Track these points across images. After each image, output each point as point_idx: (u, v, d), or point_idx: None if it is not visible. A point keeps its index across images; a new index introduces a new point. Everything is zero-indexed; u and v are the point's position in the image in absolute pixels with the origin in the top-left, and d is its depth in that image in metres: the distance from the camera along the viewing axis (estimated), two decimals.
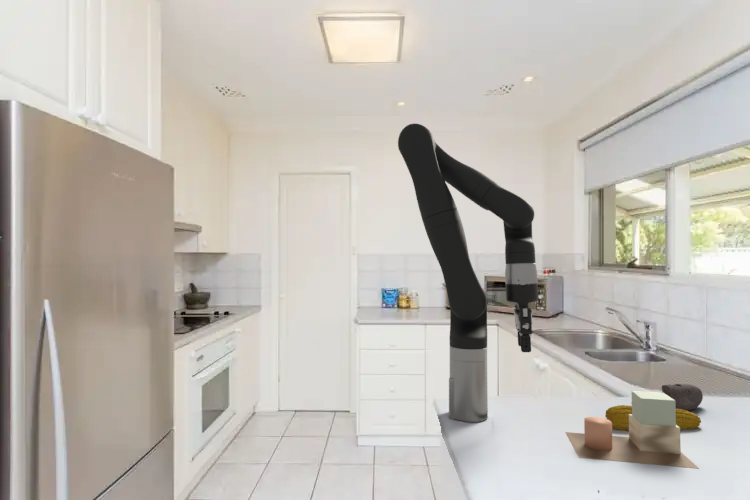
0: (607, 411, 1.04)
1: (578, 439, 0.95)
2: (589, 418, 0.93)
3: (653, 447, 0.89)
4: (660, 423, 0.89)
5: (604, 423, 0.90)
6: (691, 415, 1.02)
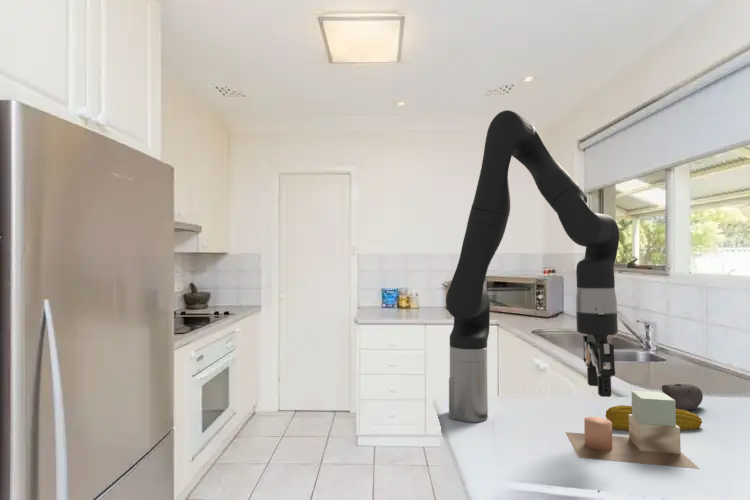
0: (607, 411, 1.04)
1: (578, 439, 0.95)
2: (589, 418, 0.93)
3: (653, 447, 0.89)
4: (660, 423, 0.89)
5: (604, 423, 0.90)
6: (692, 416, 1.02)
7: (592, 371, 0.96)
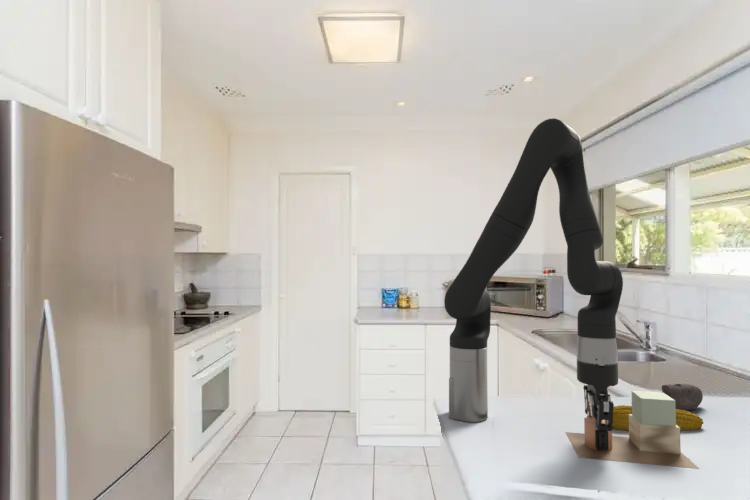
0: None
1: (578, 439, 0.95)
2: (589, 418, 0.93)
3: (653, 447, 0.89)
4: (660, 423, 0.89)
5: (604, 423, 0.90)
6: (693, 416, 1.02)
7: None
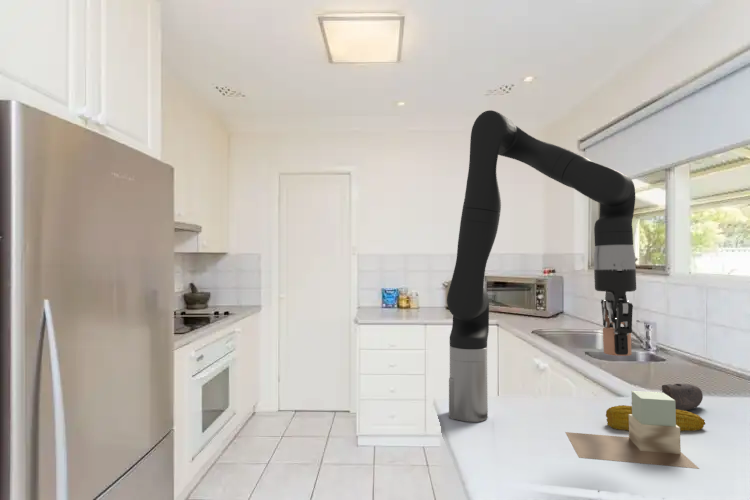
0: (607, 411, 1.04)
1: (578, 439, 0.95)
2: (607, 327, 0.94)
3: (653, 447, 0.89)
4: (660, 423, 0.89)
5: None
6: (694, 417, 1.01)
7: None
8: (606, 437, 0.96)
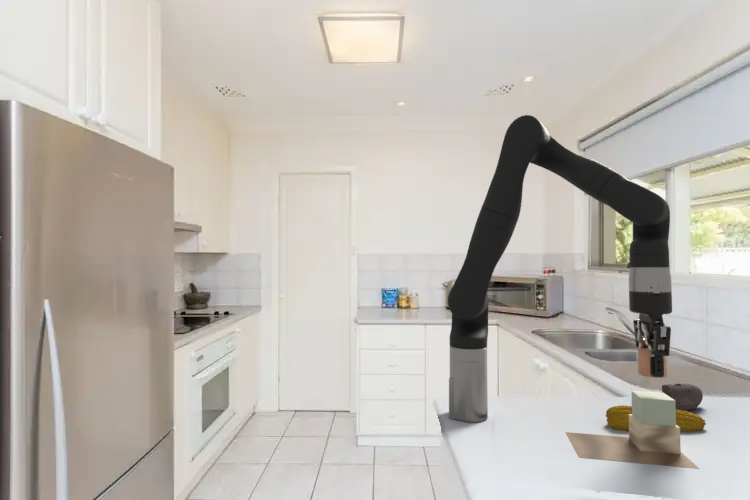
0: (607, 411, 1.04)
1: (578, 439, 0.95)
2: (642, 348, 0.94)
3: (653, 447, 0.89)
4: (660, 423, 0.89)
5: None
6: (695, 417, 1.01)
7: None
8: (606, 437, 0.96)
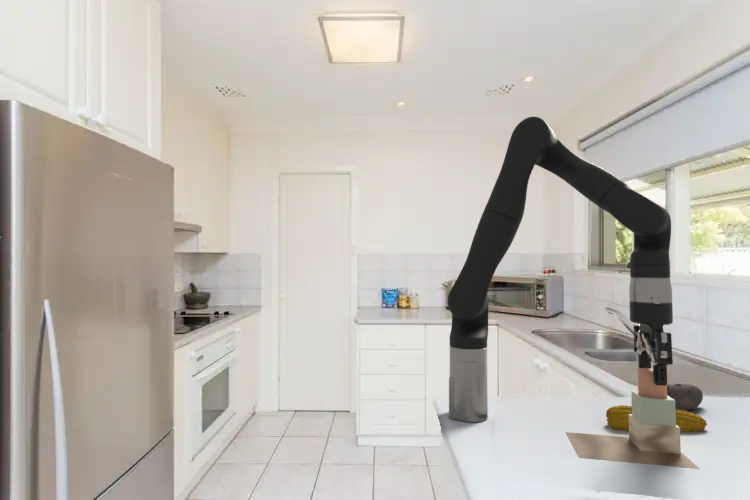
0: (607, 411, 1.04)
1: (578, 439, 0.95)
2: (642, 368, 0.94)
3: (653, 447, 0.89)
4: (660, 423, 0.89)
5: None
6: (696, 417, 1.01)
7: (643, 361, 0.96)
8: (606, 437, 0.96)
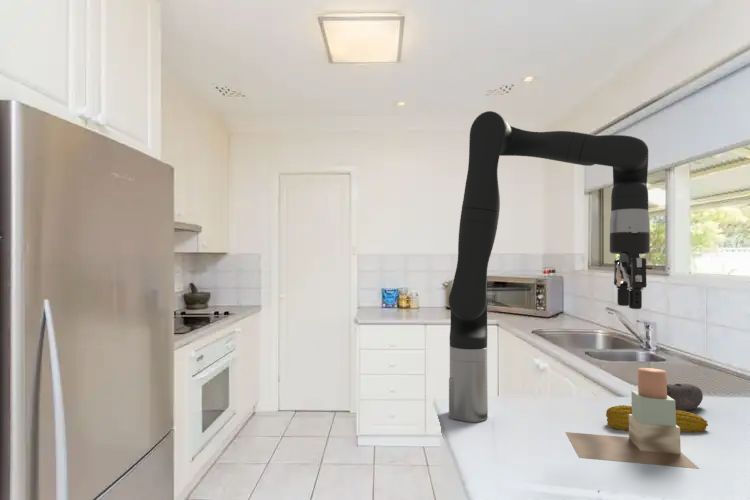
0: (607, 411, 1.04)
1: (578, 439, 0.95)
2: (642, 368, 0.94)
3: (653, 447, 0.89)
4: (660, 423, 0.89)
5: (659, 372, 0.91)
6: (696, 418, 1.01)
7: (622, 292, 1.01)
8: (606, 437, 0.96)
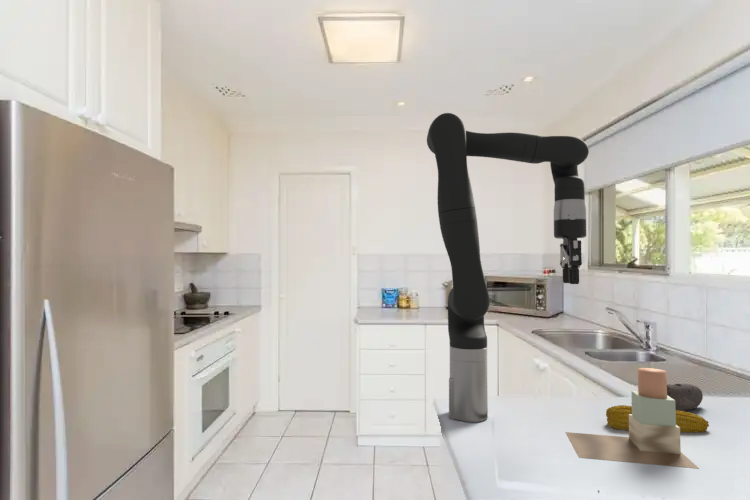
0: (607, 410, 1.05)
1: (578, 439, 0.95)
2: (642, 368, 0.94)
3: (653, 447, 0.89)
4: (660, 423, 0.89)
5: (659, 372, 0.91)
6: (697, 418, 1.00)
7: (566, 271, 1.18)
8: (606, 437, 0.96)
